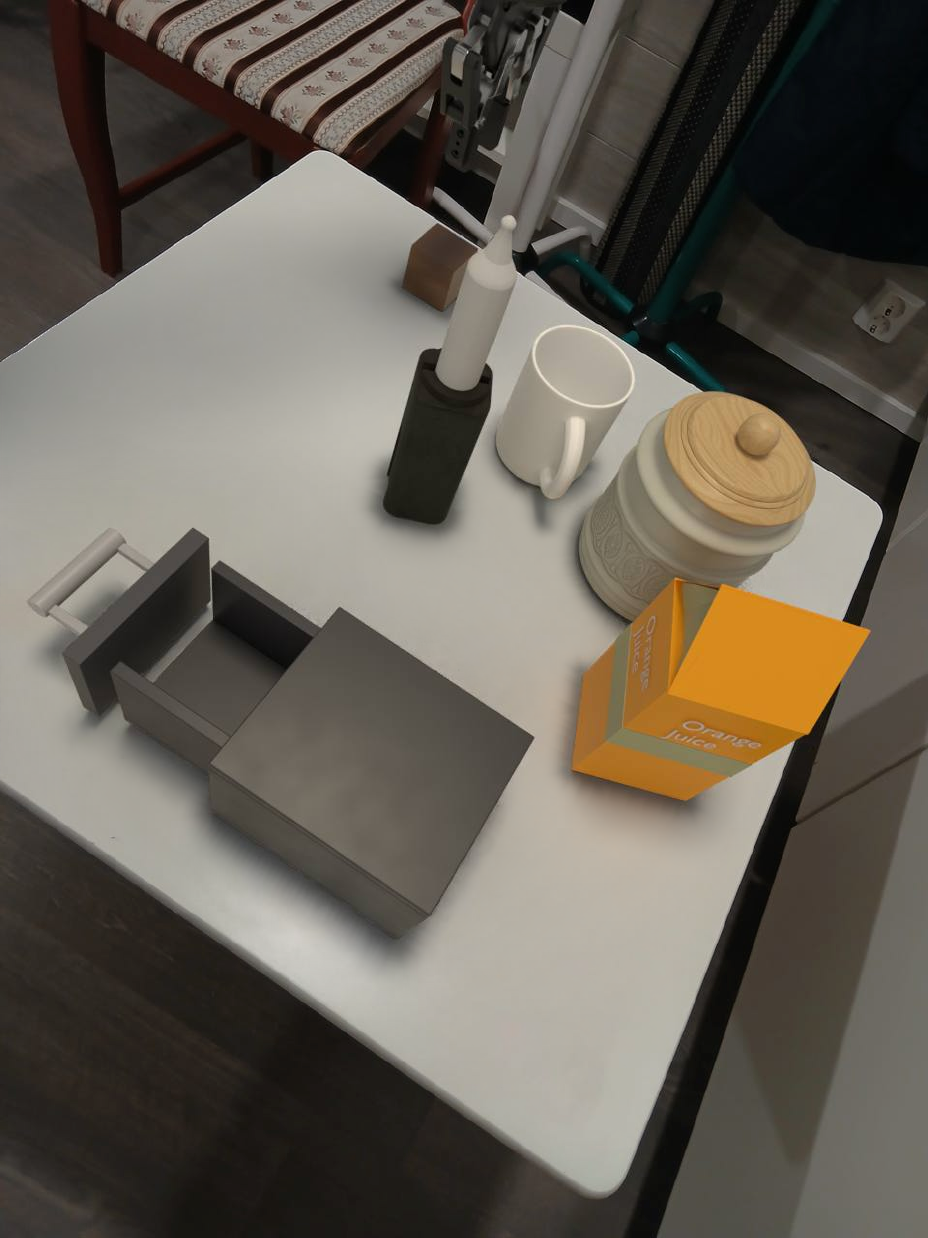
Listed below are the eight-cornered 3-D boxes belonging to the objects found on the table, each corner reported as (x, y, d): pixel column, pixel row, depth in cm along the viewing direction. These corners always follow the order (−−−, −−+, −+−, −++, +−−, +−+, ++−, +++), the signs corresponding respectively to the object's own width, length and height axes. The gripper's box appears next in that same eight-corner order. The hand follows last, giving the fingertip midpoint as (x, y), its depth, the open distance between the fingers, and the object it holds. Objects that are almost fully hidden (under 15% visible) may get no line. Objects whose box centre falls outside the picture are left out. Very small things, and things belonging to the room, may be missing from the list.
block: (401, 286, 75) (410, 244, 71) (426, 263, 77) (437, 221, 73) (441, 312, 75) (453, 272, 71) (466, 288, 77) (478, 248, 73)
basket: (18, 662, 50) (-14, 601, 43) (137, 550, 55) (125, 481, 48) (251, 823, 49) (255, 786, 42) (349, 694, 54) (367, 643, 48)
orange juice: (582, 673, 61) (722, 523, 43) (691, 705, 62) (868, 571, 45) (570, 772, 57) (718, 650, 40) (686, 804, 58) (879, 698, 41)
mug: (585, 536, 67) (640, 457, 58) (488, 516, 65) (529, 432, 56) (583, 425, 73) (633, 338, 64) (494, 405, 71) (532, 313, 62)
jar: (733, 640, 66) (885, 516, 51) (583, 628, 62) (697, 492, 47) (704, 507, 72) (831, 361, 57) (566, 490, 68) (662, 331, 53)
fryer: (211, 811, 49) (207, 763, 41) (322, 672, 55) (339, 605, 47) (396, 939, 49) (430, 916, 40) (489, 784, 55) (535, 736, 46)
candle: (445, 527, 64) (555, 260, 42) (381, 514, 63) (461, 234, 41) (450, 475, 66) (556, 199, 45) (388, 462, 65) (467, 173, 44)
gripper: (542, -163, 54) (474, 98, 69) (432, -114, 47) (382, 166, 61) (637, -106, 54) (549, 144, 68) (541, -47, 46) (465, 219, 61)
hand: (470, 153), depth 65 cm, fingers open, 3 cm apart
